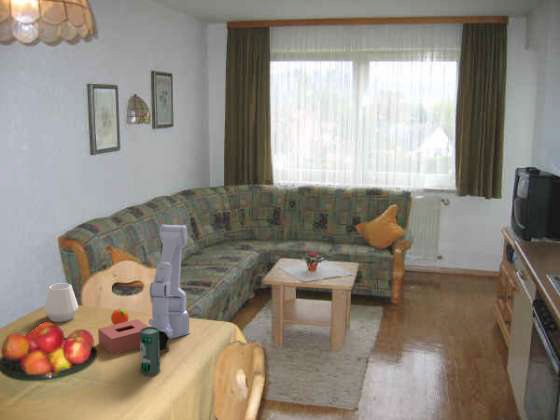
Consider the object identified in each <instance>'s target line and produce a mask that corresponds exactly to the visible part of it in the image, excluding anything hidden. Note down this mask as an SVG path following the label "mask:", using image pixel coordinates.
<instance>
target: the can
mask: <svg viewBox="0 0 560 420" xmlns="http://www.w3.org/2000/svg"><path fill="white" fill-rule="evenodd" d="M139 350H140V373H141V374H142V375H143V376H146V377H148V376H149V377H152V376H156V375H158V374H159V373H160V372H161V360H160V359H161V358H160V357H161V356H160V355H161V354H160V346H159V329H158V328H156V327H150V326H148V327H145V328H143V329H141V330H140V347H139Z"/></svg>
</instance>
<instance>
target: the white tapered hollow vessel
mask: <svg viewBox="0 0 560 420" xmlns="http://www.w3.org/2000/svg"><path fill="white" fill-rule="evenodd" d="M43 308H44V310H43V311H44V313H45V315H46V316H47V317H48V318H49V320H50V321H52V322H56V323H62V322H66V321H70V320H72V319H74V317H75V315H76V313H77V312H78V309H79V303H78V301H77V298H76V296H75V292H74V289H73V285H71V283H67V282H61V283H60V282H59V283H53V284H51V285H50V286H49V287H48V291H47V294H46V299H45V303H44V307H43Z"/></svg>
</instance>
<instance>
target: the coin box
mask: <svg viewBox="0 0 560 420" xmlns="http://www.w3.org/2000/svg"><path fill="white" fill-rule="evenodd" d="M145 327H149V326H148V325H147V324H145V323H144V322H143V321H141V320H140V319H138V318H137V319H133V320H128V321H127V322H123V323H119V324H115V325H114V324H112V325H111V324H110V325H107V326H103V327H99V328H98V330H97V333H98V344H99V345H100V346H101V347H102V348H103V349H105V350H106V351H107V352H109V354H111V355H115V354H119V353H123V352H126V351H130V350H133V349H137V348H140V330H141V329H143V328H145Z"/></svg>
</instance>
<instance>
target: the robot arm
mask: <svg viewBox="0 0 560 420" xmlns="http://www.w3.org/2000/svg"><path fill="white" fill-rule="evenodd" d="M188 231H189V230H188V226H187V225H186V224H185V225H184V224H183V225H182V224H181V225H176V224H165V223H164V224H163V223H162V225H160V228H159V238H160V241H161V244H162V248H161V249H162V250H161V260H160V262H159V263H157V265H156V268H155V273H154V279H153V281H152V282H151V283H150V285H149V297H150V302H151V303H152V308H151V310H152V315H151V316H152V318H150V319H148V324H149V327H156V328H158V329H159V346H160V350H164V349H166V345H167V342H168V343H169V340H171V339H175V338H179V337H182V336H187V335H189V334H191V331H190V315H189V313H188V311H187V308H188V307H187V305H188V304H187V303H188V301H187V293H186V292H185V291H184V290H182V288H181V272H182V271H181V270H182V269H181V268H182V255H183V248H184V247H186V246H187V245H188V238H189V237H188V235H189V233H188Z"/></svg>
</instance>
